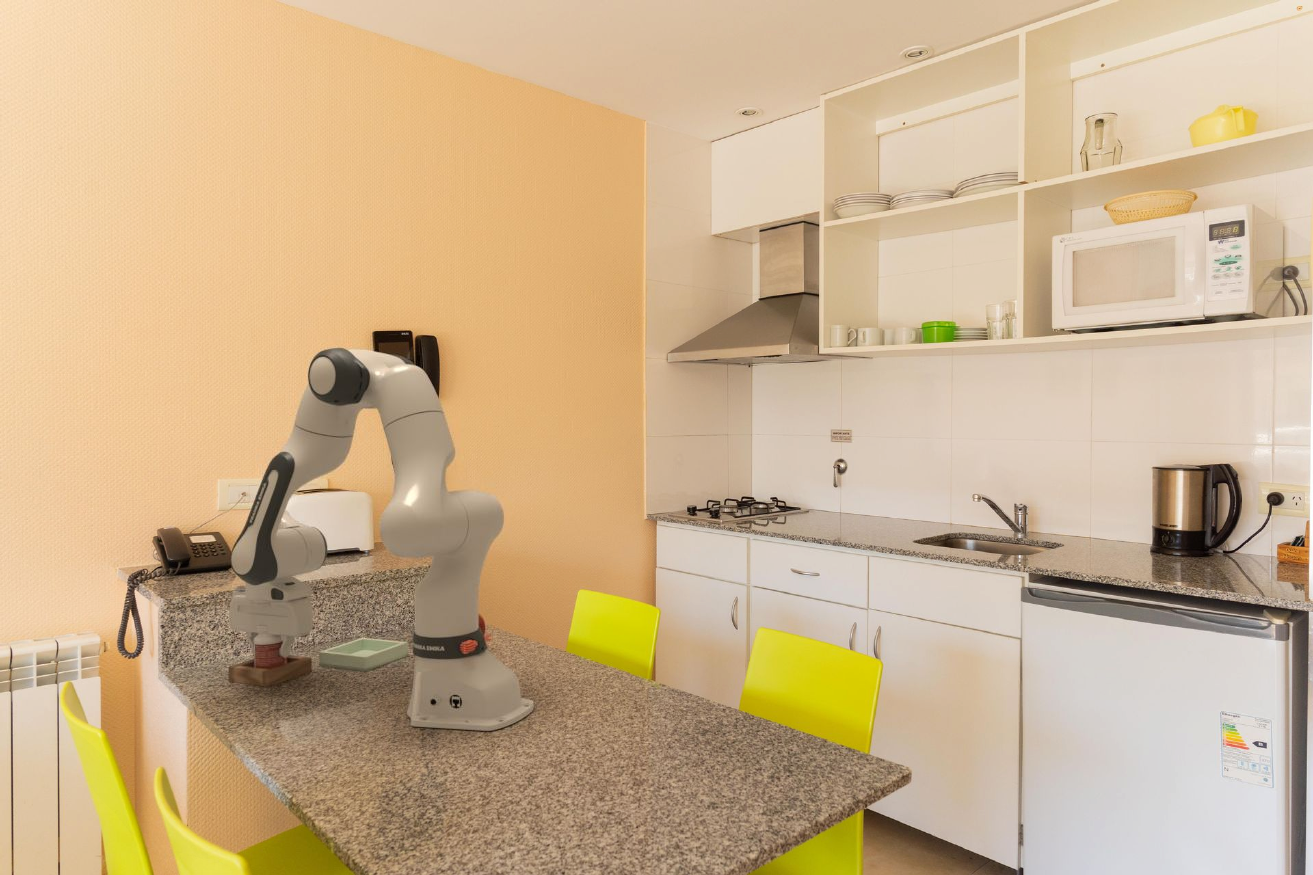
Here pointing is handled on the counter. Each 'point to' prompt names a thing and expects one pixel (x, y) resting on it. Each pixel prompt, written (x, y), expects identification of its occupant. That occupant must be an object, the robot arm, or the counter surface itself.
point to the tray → (363, 654)
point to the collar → (270, 672)
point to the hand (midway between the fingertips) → (270, 654)
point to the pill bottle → (267, 649)
